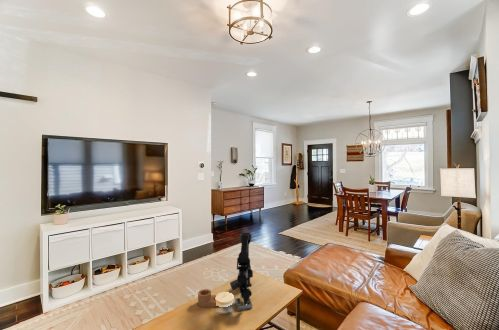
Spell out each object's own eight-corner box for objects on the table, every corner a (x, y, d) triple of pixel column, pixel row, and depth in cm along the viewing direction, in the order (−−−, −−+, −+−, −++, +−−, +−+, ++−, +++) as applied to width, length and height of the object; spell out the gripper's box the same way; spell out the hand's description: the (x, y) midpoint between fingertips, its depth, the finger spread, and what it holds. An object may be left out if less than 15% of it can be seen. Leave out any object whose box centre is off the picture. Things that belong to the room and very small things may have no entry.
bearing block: (235, 302, 151) (235, 298, 151) (248, 300, 154) (248, 296, 154) (238, 310, 142) (237, 306, 142) (252, 308, 145) (252, 304, 145)
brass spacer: (239, 303, 150) (239, 294, 150) (246, 302, 151) (246, 293, 151) (240, 307, 145) (240, 298, 145) (247, 306, 146) (247, 297, 146)
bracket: (196, 306, 147) (196, 295, 147) (199, 299, 155) (199, 289, 155) (225, 306, 147) (224, 295, 147) (226, 299, 155) (226, 289, 155)
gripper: (228, 271, 155) (228, 294, 155) (233, 284, 137) (233, 311, 137) (244, 269, 158) (244, 292, 158) (251, 282, 140) (251, 308, 140)
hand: (243, 300), depth 148 cm, fingers open, 9 cm apart
